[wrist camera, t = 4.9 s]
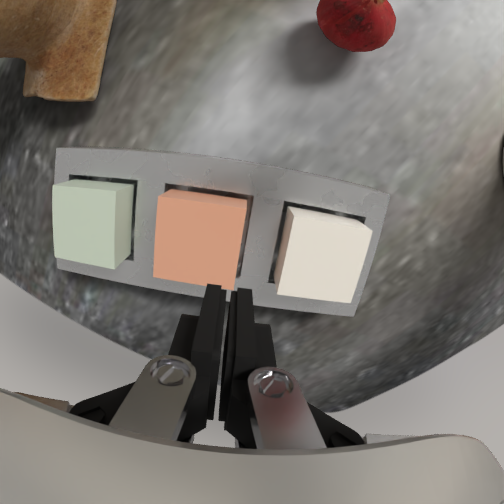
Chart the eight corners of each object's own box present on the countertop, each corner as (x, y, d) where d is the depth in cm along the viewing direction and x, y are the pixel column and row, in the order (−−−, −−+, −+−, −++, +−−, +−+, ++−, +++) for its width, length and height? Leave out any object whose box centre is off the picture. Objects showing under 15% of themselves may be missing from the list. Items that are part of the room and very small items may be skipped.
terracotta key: (247, 199, 19) (246, 208, 16) (235, 270, 21) (233, 290, 18) (171, 189, 19) (158, 196, 16) (165, 259, 21) (153, 276, 18)
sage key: (134, 184, 19) (116, 191, 16) (130, 253, 20) (114, 269, 18) (74, 179, 18) (52, 185, 16) (74, 243, 20) (54, 257, 17)
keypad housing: (368, 186, 23) (390, 194, 19) (340, 292, 26) (353, 316, 22) (83, 146, 21) (56, 148, 17) (80, 251, 24) (57, 268, 21)
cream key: (356, 219, 20) (372, 230, 17) (338, 284, 22) (350, 303, 19) (287, 206, 20) (294, 215, 17) (273, 275, 21) (276, 294, 19)
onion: (350, 75, 19) (393, 48, 12) (294, 33, 18) (314, -12, 11) (384, 36, 18) (429, 5, 10) (332, -3, 17) (360, -49, 9)
